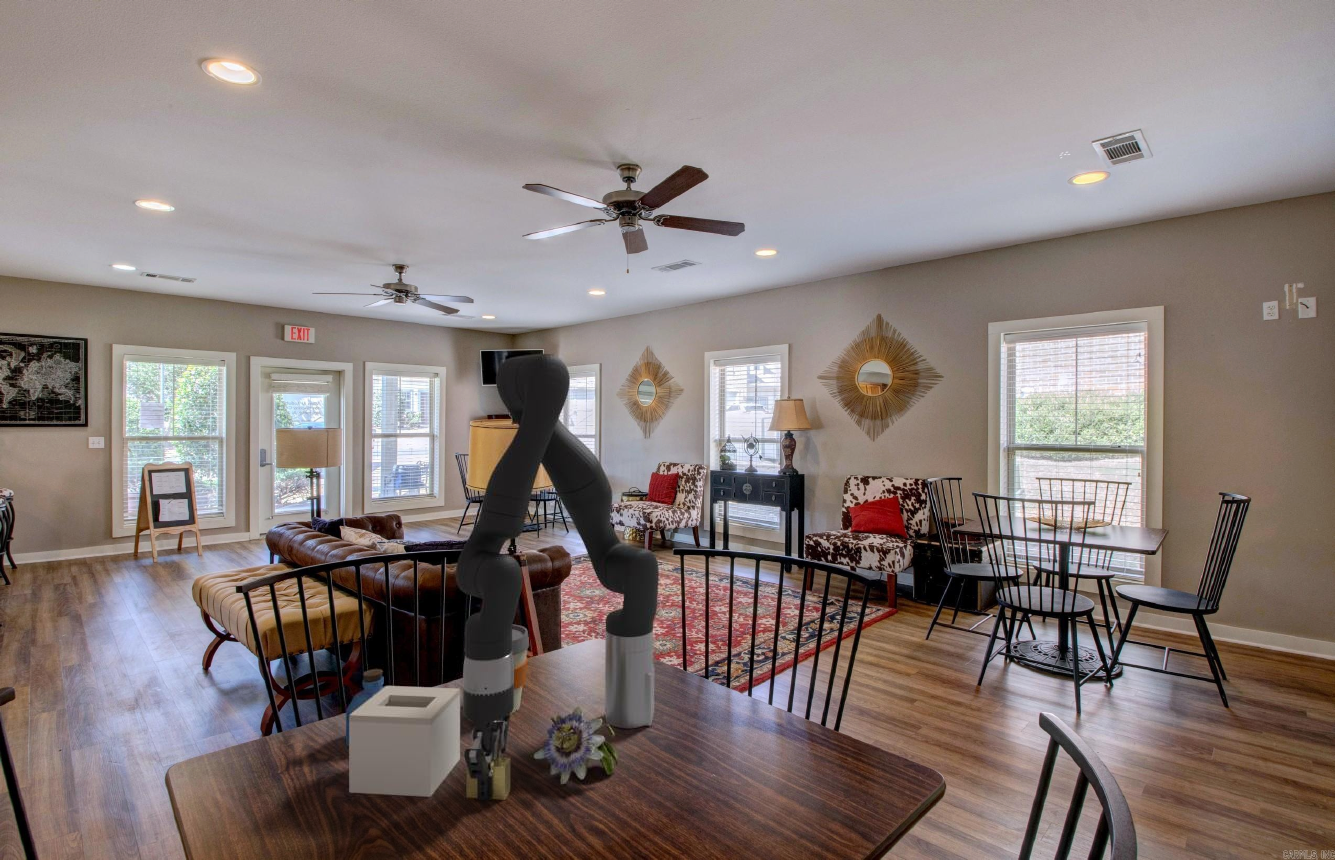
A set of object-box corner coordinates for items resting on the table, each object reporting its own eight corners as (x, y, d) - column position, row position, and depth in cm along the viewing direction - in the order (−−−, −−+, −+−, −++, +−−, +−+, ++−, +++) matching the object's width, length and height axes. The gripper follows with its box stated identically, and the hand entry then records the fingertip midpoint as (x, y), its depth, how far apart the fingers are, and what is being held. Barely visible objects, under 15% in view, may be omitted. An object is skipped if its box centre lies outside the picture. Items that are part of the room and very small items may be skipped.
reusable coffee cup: (501, 689, 136) (501, 619, 136) (542, 704, 129) (542, 631, 129) (450, 710, 126) (451, 635, 126) (492, 728, 119) (492, 648, 119)
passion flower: (565, 816, 101) (520, 759, 100) (581, 767, 112) (540, 715, 111) (621, 784, 99) (575, 726, 98) (632, 737, 110) (591, 684, 108)
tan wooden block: (510, 790, 99) (510, 758, 99) (504, 799, 96) (505, 766, 96) (472, 787, 99) (472, 756, 99) (466, 797, 97) (466, 764, 97)
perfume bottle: (377, 748, 111) (377, 680, 111) (346, 745, 113) (346, 677, 113) (398, 732, 117) (398, 667, 117) (369, 728, 119) (369, 664, 119)
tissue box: (459, 758, 108) (460, 688, 108) (430, 796, 97) (430, 718, 97) (386, 755, 109) (386, 685, 109) (349, 792, 98) (349, 714, 98)
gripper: (496, 702, 91) (496, 823, 91) (526, 665, 104) (526, 770, 105) (445, 700, 91) (445, 820, 91) (481, 663, 105) (481, 768, 105)
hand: (488, 793), depth 98 cm, fingers closed on tan wooden block, 2 cm apart
